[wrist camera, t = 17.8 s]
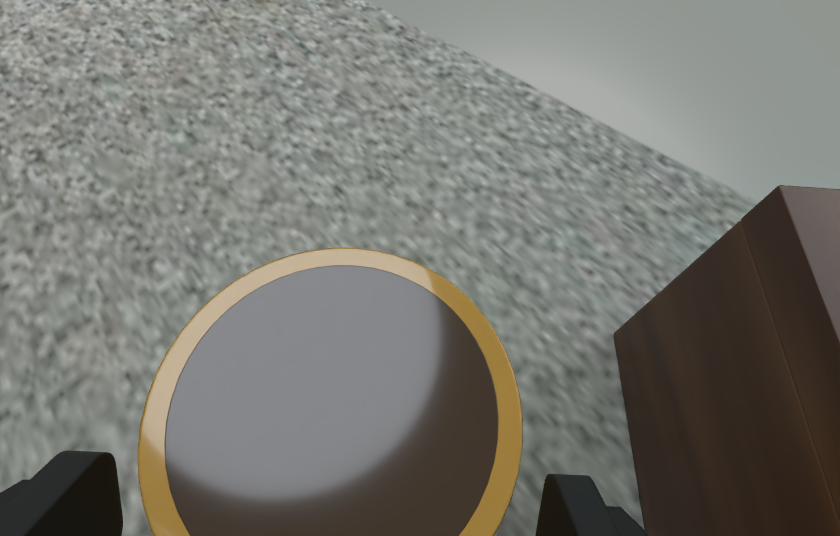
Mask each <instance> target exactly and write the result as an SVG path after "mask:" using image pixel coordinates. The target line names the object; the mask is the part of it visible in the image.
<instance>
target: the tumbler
mask: <svg viewBox="0 0 840 536" xmlns="http://www.w3.org/2000/svg"><path fill="white" fill-rule="evenodd" d="M522 443H523V418H522V410H521V401H520V394H519V390H518V386H517V382H516V378H515V374H514V371H513V368H512V366H511V363H510V360H509V358H508V355H507V353H506V350H505V348H504V347H503V345H502V343H501V341H500V339H499V337H498V335H497V334H496V332H495V330H494V329H493V327H492V326H491V325H490V323H489V322H488V320H487V319H486V317H485V316H484V315H483V313H482V312H481V311H480V310H479V309H478V308H477V307H476V306H475V304H474V303H473V302H472V301H471V300H470V299H469V298H468V297H467V296H466V295H465V294H464V293H462V292H461V291H460V290H459V289H458V288H457V287H455V286H454V285H453V284H452V283H451V282H449V281H448V280H446V279H445V278H443V277H442V276H440V275H439V274H437V273H436V272H434V271H432V270H430V269H428V268H426V267H424V266H422V265H420V264H418V263H416V262H413V261H411V260H408V259H405V258H403V257H400V256H397V255H393V254H389V253H385V252H381V251H376V250H368V249H360V248H328V249H319V250H312V251H307V252H302V253H298V254H293V255H290V256H287V257H284V258H281V259H278V260H275V261H272V262H270V263H268V264H266V265H263V266H261V267H259V268H257V269H255V270H252V271H251V272H249V273H247V274H246V275H244V276H242V277H241V278H239V279H237V280H236V281H234V282H232V283H231V284H230V285H228V286H227V287H226V288H224V289H223V290H222V291H220V292H219V293H218V294H216V295H215V296H214V297H213V298H212V299H211V300H210V301H208V302H207V303H206V304H205V305H204V306H203V307H202V308H201V309H200V310H199V311H198V312H197V313H196V314H195V315H194V316H193V318H192V319H191V320H190V321H189V322H188V323H187V325H186V326H185V327H184V328H183V329H182V330H181V332H180V333H179V335H178V336H177V338H176V339H175V341H174V342H173V344H172V345H171V347H170V348H169V350H168V351H167V353H166V355H165V357H164V359H163V361H162V363H161V365H160V367H159V368H158V370H157V372H156V374H155V377H154V380H153V382H152V385H151V388H150V391H149V393H148V396H147V399H146V403H145V407H144V411H143V416H142V420H141V424H140V434H139V443H138V478H139V484H140V490H141V496H142V502H143V506H144V509H145V513H146V516H147V519H148V522H149V525H150V528H151V531H152V533H153V535H154V536H494V535H495V533H496V531H497V529H498V528H499V526H500V524H501V522H502V520H503V518H504V515H505V513H506V510H507V508H508V505H509V503H510V500H511V498H512V495H513V491H514V488H515V484H516V480H517V476H518V473H519V467H520V460H521V452H522Z"/></svg>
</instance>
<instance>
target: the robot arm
mask: <svg viewBox="0 0 840 536" xmlns="http://www.w3.org/2000/svg"><path fill="white" fill-rule="evenodd" d="M122 528H123V516H122V508H121V501H120V493H119V485H118V477H117V469H116V462H115V459H114V457H113V455H112V454H111V453H108V452H87V451H63V452H61V453H59V454H57V455H56V456H55V457H54V458H53V459H52V460H51V461H50V462H49V463H48V464H46V465H45V466H44V467H43V468H42V469H41V470H40V471H39V472H38V473H37V474H36V475H35V476H34V477H33V478H32V479H31V480H22V481H20V482H18V483H17V484H15V485H13V486H12V487H10V488H8V489H6V490H5V491H3V492H1V493H0V536H121V534H122ZM536 536H648V535H647V533H646V532H645V530H644V529H643V528H642V527H641V526H640V525H639V524H638V523H637V522H636V521H635V520H633V519H632V518H631V517H630V516H629V515H628V514H627V513H626V512H625V511H624V510H623V509H622V508H621V507H610V506H606V505H605V503H604V501H603V499H602V497H601V495H600V493H599V491H598V489H597V487H596V485H595V483H594V482H593V480H592V479H591V477H589V476H585V475H563V474H548V475H547V477H546V479H545V483H544V488H543V494H542V500H541V506H540V512H539V518H538V524H537V530H536Z"/></svg>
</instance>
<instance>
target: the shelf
mask: <svg viewBox="0 0 840 536" xmlns="http://www.w3.org/2000/svg"><path fill="white" fill-rule="evenodd" d="M614 337H615V344H616V350H617V356H618V362H619V369H620V375H621V381H622V387H623V394H624V400H625V406H626V412H627V419H628V425H629V431H630V438H631V444H632V450H633V456H634V463H635V469H636V475H637V481H638V488H639V494H640V500H641V506H642V513H643V519H644V525H645V531H646V533H647V535H648V536H840V189H827V188H813V187H799V186H784V185H780V186H777V187H776V188H775V189H774V190H773V191H772V192H771V193H770V194H769V195H767V196H766V197H765V198H764V199H763V200H762V201H761V202H759V203H758V204H757V205H756V206H755V207H754V208H753V209H752V210H751V211H749V212H748V213H747V214H746V215H745V216H744V217H743V218H742V219H741V221H739V222H738V223H737V224H736V225H735V226H733V227H732V228H731V229H730V230H729V231H728V232H727V233H726V234H724V235H723V236H722V237H721V238H720V239H719V240H718V241H717V242H715V243H714V244H713V245H712V246H711V247H710V248H709V249H708V250H707V251H705V252H704V253H703V254H702V255H701V256H700V257H699V258H698V259H696V260H695V261H694V262H693V263H692V264H691V265H690V266H689V267H688V268H686V269H685V270H684V271H683V272H682V273H681V274H680V275H679V276H677V277H676V278H675V279H674V280H673V281H672V282H671V283H670V284H668V285H667V286H666V287H665V288H664V289H663V290H662V291H661V292H660V293H658V294H657V295H656V296H655V297H654V298H653V299H652V300H651V301H649V302H648V303H647V304H646V305H645V306H644V307H643V308H642V309H640V310H639V311H638V312H637V313H636V314H635V315H634V316H633V317H632V318H630V319H629V320H628V321H627V322H626V323H625V324H624V325H623V326H621V327H620V328H619V329H618V330H617V331H616V332H615V333H614Z"/></svg>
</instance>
